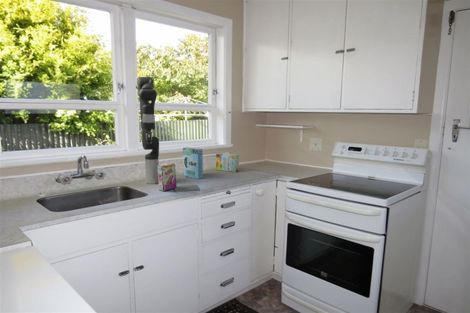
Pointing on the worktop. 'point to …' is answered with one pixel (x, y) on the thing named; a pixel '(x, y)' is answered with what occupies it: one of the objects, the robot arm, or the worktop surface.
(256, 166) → the worktop surface
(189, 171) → the gum box
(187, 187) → the mat
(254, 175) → the worktop surface
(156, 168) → the robot arm
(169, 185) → the candy bar box
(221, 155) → the snack box
